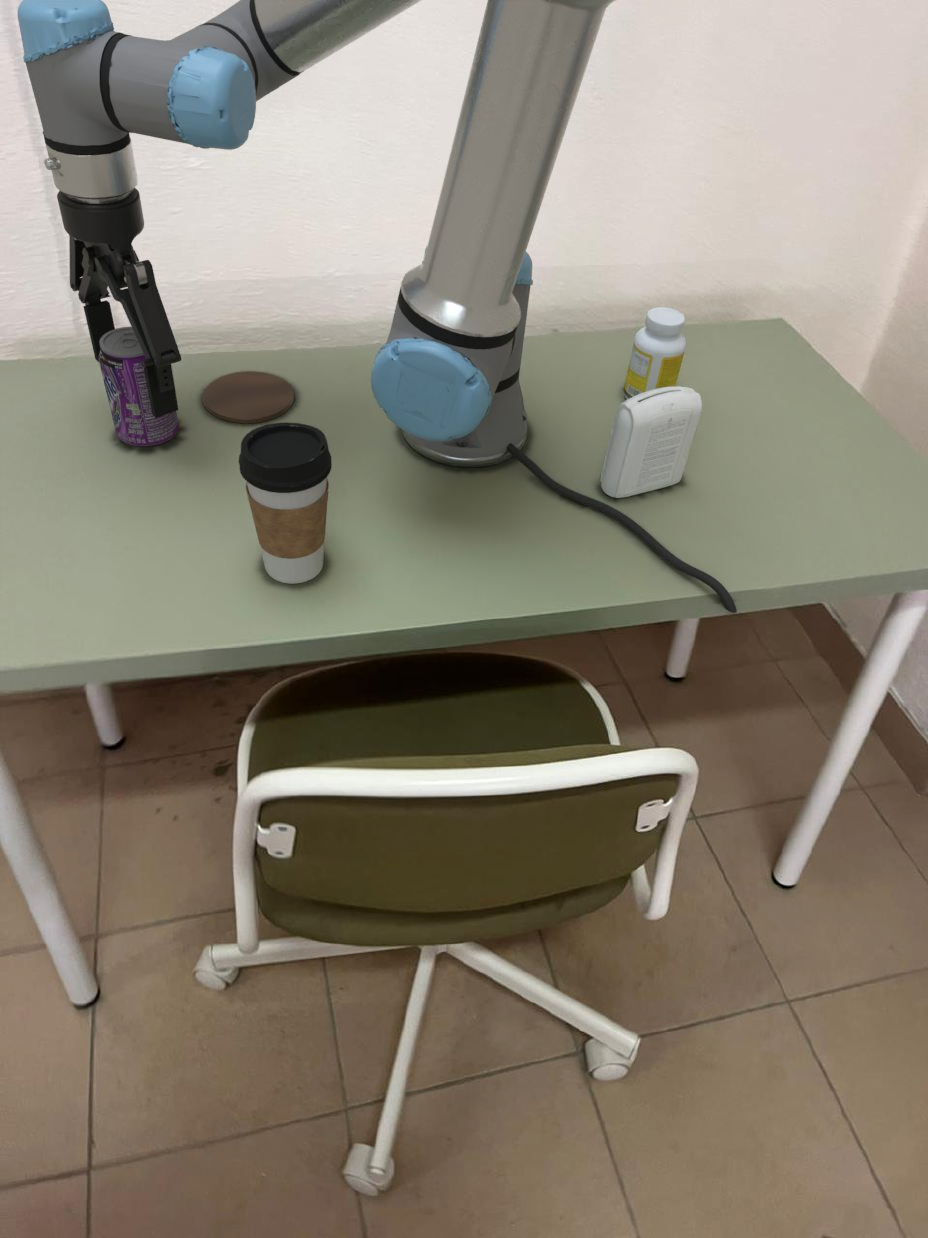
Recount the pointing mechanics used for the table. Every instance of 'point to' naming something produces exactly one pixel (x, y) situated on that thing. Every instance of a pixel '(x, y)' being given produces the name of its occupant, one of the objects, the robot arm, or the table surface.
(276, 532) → the coffee cup
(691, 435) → the photo printer
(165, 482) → the table surface
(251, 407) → the coaster
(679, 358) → the pill bottle
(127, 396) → the beverage can
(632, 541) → the table surface
